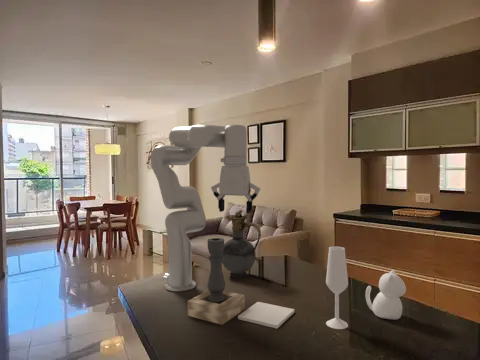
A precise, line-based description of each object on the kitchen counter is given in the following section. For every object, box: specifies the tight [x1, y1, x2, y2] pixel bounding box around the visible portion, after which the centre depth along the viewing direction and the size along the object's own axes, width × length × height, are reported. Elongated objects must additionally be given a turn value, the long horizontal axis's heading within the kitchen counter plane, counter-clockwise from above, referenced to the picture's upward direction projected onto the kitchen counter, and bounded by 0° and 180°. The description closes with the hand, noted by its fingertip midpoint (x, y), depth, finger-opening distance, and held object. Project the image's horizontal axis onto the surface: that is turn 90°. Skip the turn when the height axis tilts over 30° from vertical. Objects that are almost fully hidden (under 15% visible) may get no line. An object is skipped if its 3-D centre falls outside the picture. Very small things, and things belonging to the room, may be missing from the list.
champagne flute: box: [325, 245, 349, 330], centre depth 109 cm, size 7×7×24 cm
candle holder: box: [207, 237, 226, 304], centre depth 119 cm, size 6×6×25 cm
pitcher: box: [222, 209, 262, 279], centre depth 159 cm, size 11×19×30 cm, turn 63°
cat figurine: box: [364, 269, 407, 321], centre depth 115 cm, size 9×12×15 cm
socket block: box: [187, 289, 246, 326], centre depth 119 cm, size 14×14×5 cm
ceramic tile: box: [237, 301, 295, 329], centre depth 116 cm, size 14×14×1 cm
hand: (235, 211), depth 119 cm, fingers open, 9 cm apart
